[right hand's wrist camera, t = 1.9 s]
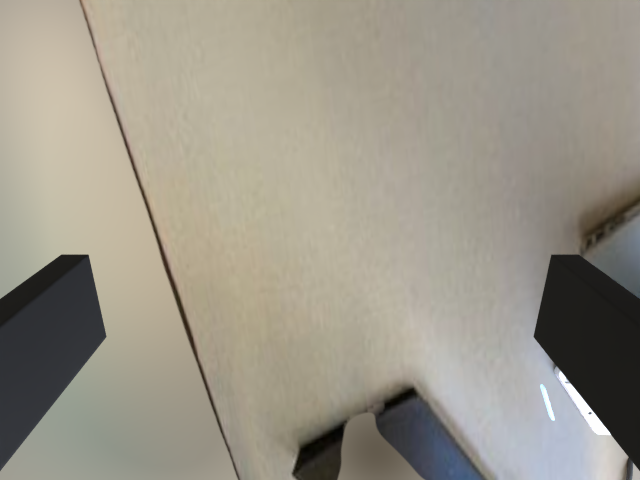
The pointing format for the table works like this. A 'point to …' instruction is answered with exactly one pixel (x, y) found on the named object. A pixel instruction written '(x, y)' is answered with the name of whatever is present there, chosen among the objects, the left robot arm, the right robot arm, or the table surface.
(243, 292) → the table surface
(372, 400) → the table surface
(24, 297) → the right robot arm
